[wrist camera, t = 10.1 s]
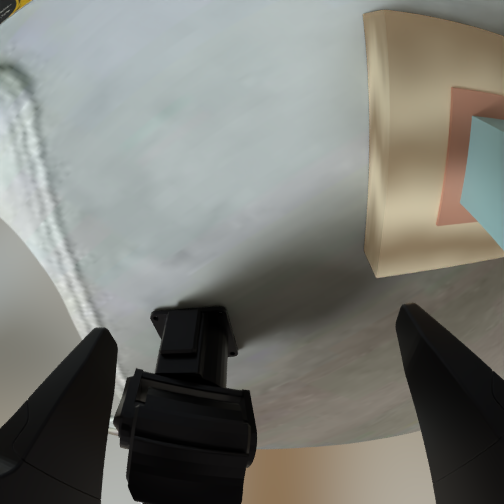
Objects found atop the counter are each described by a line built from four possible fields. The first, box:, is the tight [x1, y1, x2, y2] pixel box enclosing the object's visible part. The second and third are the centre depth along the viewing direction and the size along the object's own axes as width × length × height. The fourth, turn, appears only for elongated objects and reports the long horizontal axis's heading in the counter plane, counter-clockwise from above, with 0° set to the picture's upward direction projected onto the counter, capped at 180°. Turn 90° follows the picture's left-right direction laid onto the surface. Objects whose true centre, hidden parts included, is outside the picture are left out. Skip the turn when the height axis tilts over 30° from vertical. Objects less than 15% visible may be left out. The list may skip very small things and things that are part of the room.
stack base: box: [363, 10, 504, 278], centre depth 15 cm, size 16×16×3 cm
